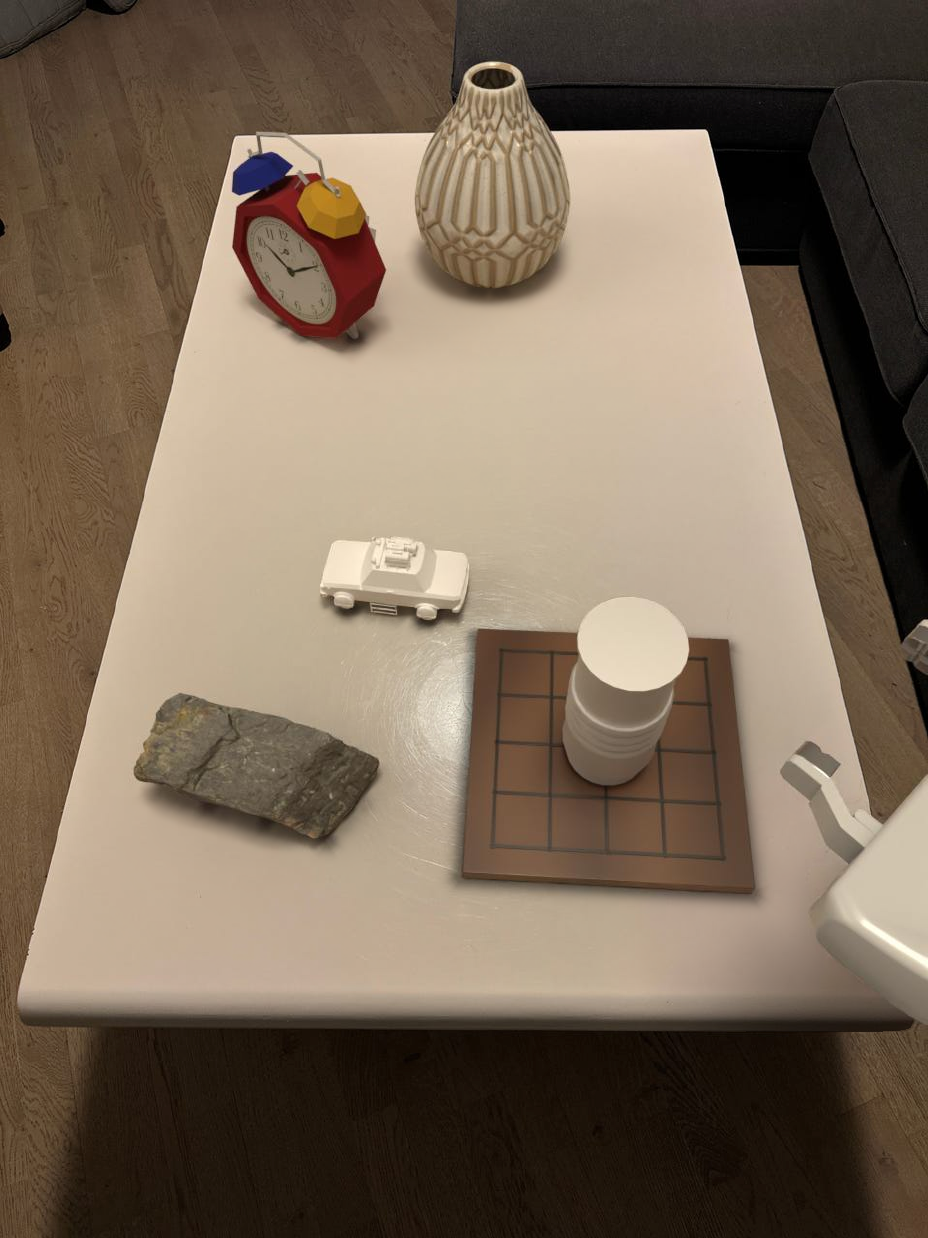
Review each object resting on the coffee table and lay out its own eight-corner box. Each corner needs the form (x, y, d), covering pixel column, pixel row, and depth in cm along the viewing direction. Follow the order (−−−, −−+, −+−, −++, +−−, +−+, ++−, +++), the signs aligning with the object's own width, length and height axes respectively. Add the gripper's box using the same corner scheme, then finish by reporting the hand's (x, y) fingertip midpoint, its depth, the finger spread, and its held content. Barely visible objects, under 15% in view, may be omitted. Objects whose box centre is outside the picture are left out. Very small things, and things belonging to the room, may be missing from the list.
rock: (114, 836, 63) (129, 691, 66) (152, 844, 70) (163, 711, 73) (368, 832, 62) (371, 686, 65) (382, 841, 69) (384, 707, 72)
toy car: (335, 556, 81) (324, 505, 76) (472, 571, 80) (472, 521, 75) (319, 613, 78) (307, 564, 73) (462, 630, 77) (460, 582, 71)
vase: (543, 324, 97) (555, 135, 81) (398, 295, 100) (381, 107, 83) (580, 233, 106) (598, 44, 89) (445, 209, 108) (438, 22, 92)
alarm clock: (246, 309, 99) (198, 122, 83) (300, 266, 103) (265, 79, 86) (354, 365, 94) (327, 178, 78) (407, 318, 98) (391, 130, 81)
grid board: (725, 646, 76) (728, 638, 75) (751, 893, 65) (755, 888, 64) (477, 636, 77) (477, 627, 76) (462, 878, 66) (462, 872, 65)
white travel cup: (671, 741, 70) (712, 634, 57) (618, 810, 67) (649, 713, 55) (595, 690, 72) (618, 576, 60) (540, 754, 70) (553, 650, 57)
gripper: (1301, 718, 40) (1001, 530, 45) (1054, 1084, 32) (733, 806, 38) (1204, 778, 45) (947, 604, 51) (974, 1105, 38) (702, 858, 43)
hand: (853, 692), depth 44 cm, fingers open, 8 cm apart
